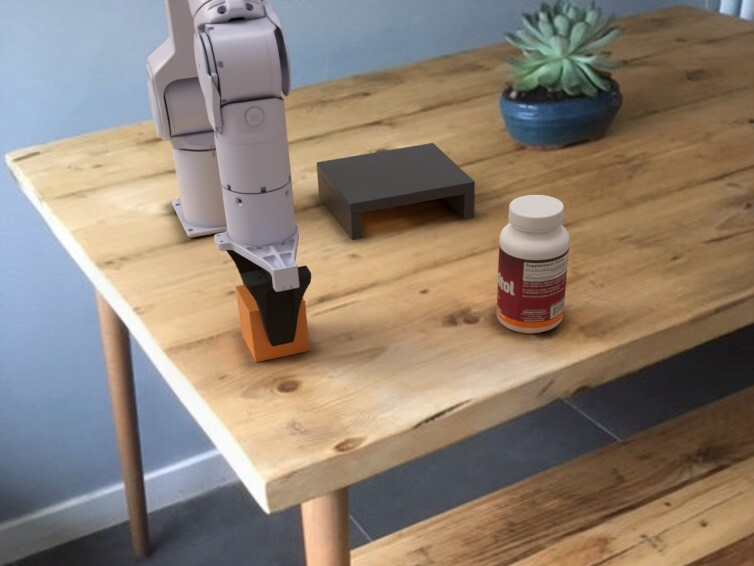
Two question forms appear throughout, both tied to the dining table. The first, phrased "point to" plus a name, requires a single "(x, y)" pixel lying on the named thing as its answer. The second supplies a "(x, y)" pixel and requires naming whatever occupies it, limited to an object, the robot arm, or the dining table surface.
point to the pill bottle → (532, 265)
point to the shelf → (392, 183)
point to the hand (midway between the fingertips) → (273, 327)
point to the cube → (256, 332)
